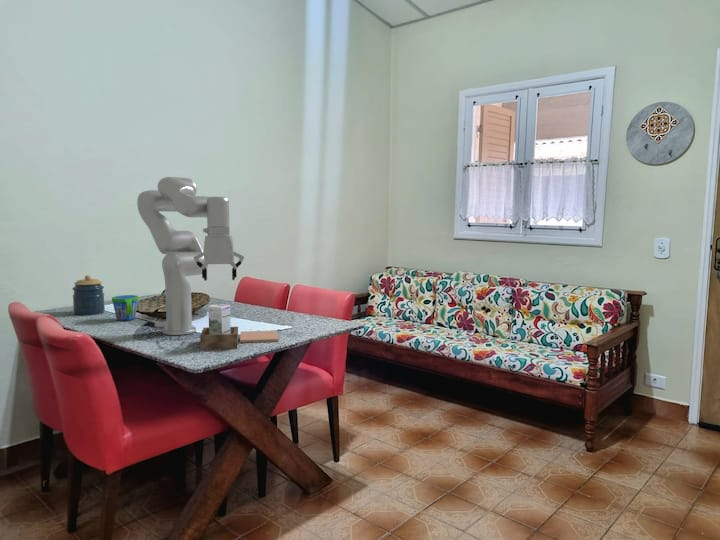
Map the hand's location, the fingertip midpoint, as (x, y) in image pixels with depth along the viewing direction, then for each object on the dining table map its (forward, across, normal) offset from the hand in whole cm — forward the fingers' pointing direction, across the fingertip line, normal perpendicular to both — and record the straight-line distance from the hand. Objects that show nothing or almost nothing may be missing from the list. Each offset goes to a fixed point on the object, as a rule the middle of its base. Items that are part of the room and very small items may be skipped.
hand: (219, 279), depth 180 cm
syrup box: (+24, 0, 0) cm, 24 cm away
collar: (+24, 0, 0) cm, 24 cm away
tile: (+24, +14, +8) cm, 29 cm away
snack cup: (+23, -43, +50) cm, 70 cm away
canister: (+23, -63, +68) cm, 95 cm away
